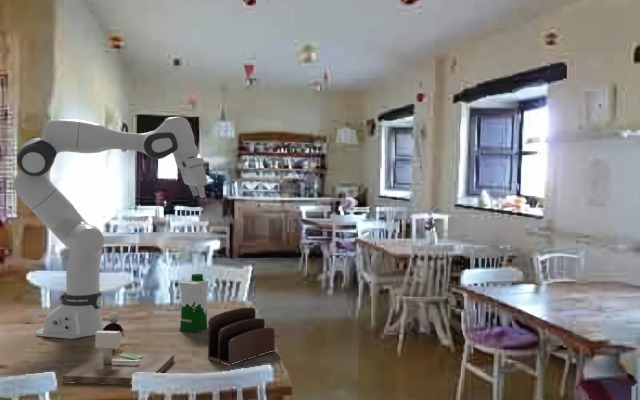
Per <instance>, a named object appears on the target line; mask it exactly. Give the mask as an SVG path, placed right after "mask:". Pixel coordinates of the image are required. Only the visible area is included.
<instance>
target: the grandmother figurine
mask: <svg viewBox="0 0 640 400" xmlns="http://www.w3.org/2000/svg"><path fill="white" fill-rule="evenodd" d="M119 316H120V315H119V313H118V312H116V311H113V312H111V313H109V315H108V317H107V320H108V321H109V322H110V323H108V324H106V325H105V326H104V328H103V331H120V335H121V337H123V338H124V337H126V336H125V335H126V334H125V331H124V328H123V327H122V325H121V324H119V323H118V321H119ZM112 353H124V351H123V349H122V348H121V346H120V347H119V348H112Z"/></svg>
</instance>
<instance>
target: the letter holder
mask: <svg viewBox="0 0 640 400" xmlns="http://www.w3.org/2000/svg"><path fill="white" fill-rule="evenodd" d="M265 323H266V321H265V319H264V318H263V317H261V318H258V317H257V318H256V309H255V307H239V308H236V309H231V310H227V311H224V312H221V313H218V314H216V315H213V316H211V317H210V318H209V319H208V321H207V330H208V331H207V332H208V333H207V334H208V335H207V336H208V338H207V341H208V342H207V359H211V360H210V361H212V360H215V361H219V362H223V363H227V364H232V363H235V362H238V361H241V360H244V359H248V358H251V357H254V356H258V355H260V354H263V353H266V352H269V351H273V350H275V351H276V347H275V346H276V345H275V343H276V341H275V339H276V338H275V336H276V335H275V329H274V328H273V327H265V326H266V324H265ZM215 361H214V362H215Z"/></svg>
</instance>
